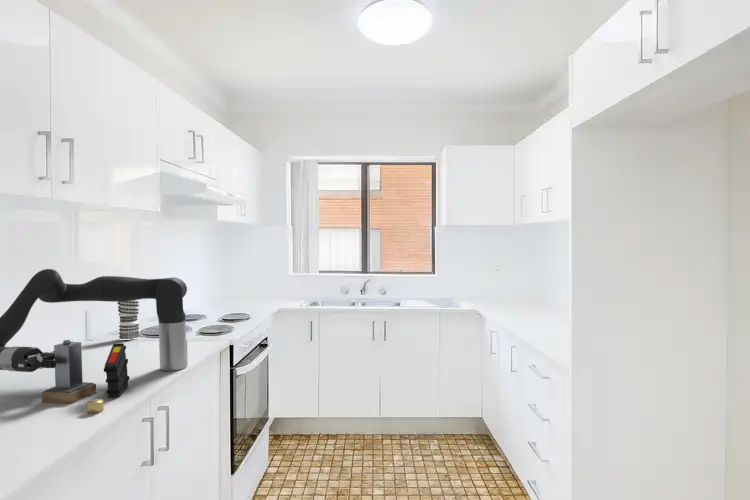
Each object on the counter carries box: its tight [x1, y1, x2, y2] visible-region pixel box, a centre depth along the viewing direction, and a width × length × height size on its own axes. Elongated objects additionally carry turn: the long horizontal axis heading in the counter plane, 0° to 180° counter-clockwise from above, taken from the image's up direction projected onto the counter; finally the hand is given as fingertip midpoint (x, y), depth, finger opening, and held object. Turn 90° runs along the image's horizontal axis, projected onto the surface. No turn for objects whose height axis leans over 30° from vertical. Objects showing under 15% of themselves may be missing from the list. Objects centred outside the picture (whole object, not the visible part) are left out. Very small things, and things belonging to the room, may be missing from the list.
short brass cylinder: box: [86, 398, 105, 415], centre depth 142 cm, size 4×4×3 cm
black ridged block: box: [103, 343, 130, 399], centre depth 158 cm, size 4×13×15 cm, turn 12°
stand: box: [41, 381, 97, 405], centre depth 154 cm, size 10×10×3 cm
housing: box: [53, 339, 83, 389], centre depth 154 cm, size 5×5×14 cm
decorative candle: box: [116, 300, 140, 340], centre depth 242 cm, size 9×9×25 cm
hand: (66, 360), depth 154 cm, fingers open, 8 cm apart
